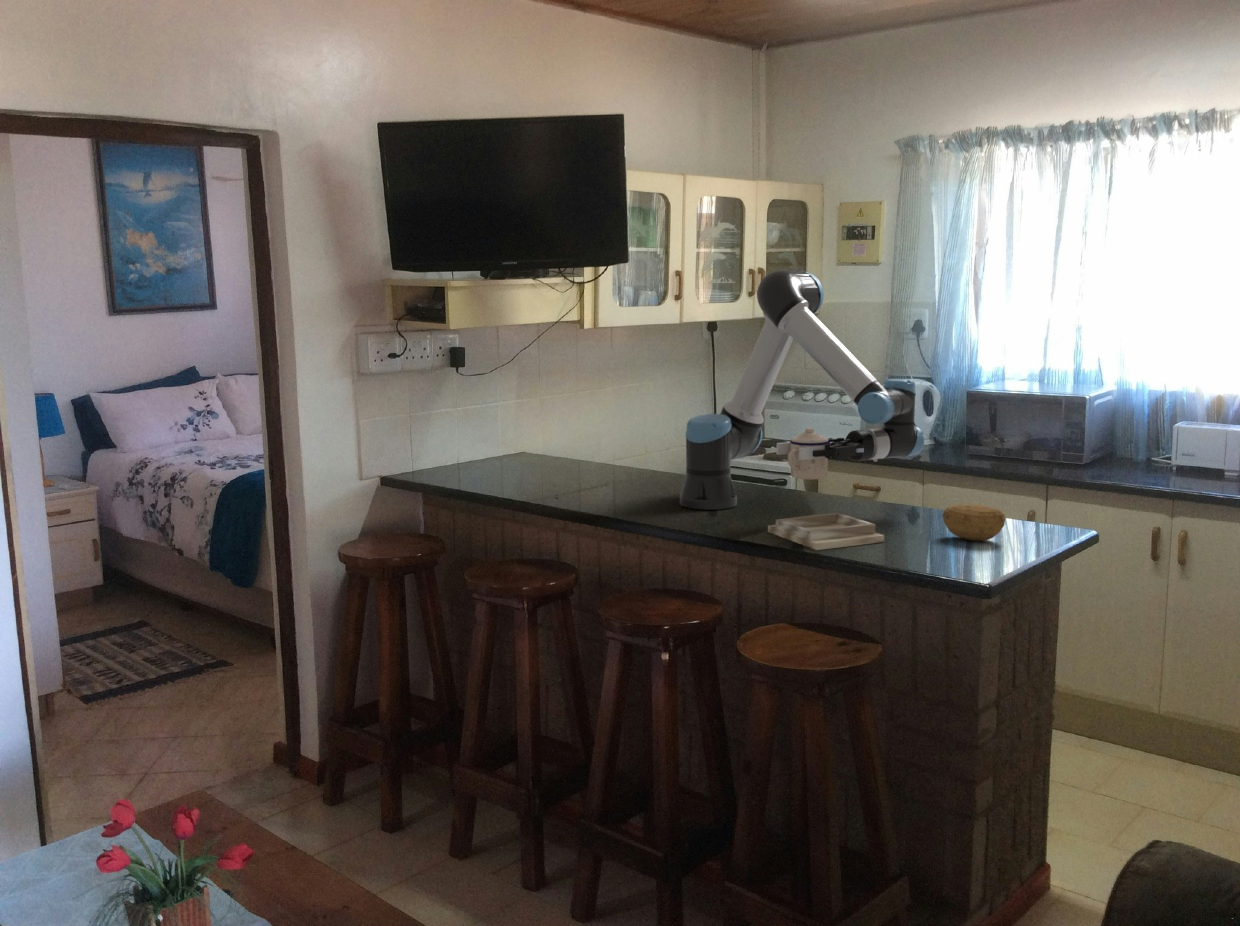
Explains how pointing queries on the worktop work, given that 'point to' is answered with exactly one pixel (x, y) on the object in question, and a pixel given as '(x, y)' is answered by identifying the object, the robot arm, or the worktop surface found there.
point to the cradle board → (826, 531)
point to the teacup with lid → (809, 466)
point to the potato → (974, 521)
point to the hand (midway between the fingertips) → (788, 451)
